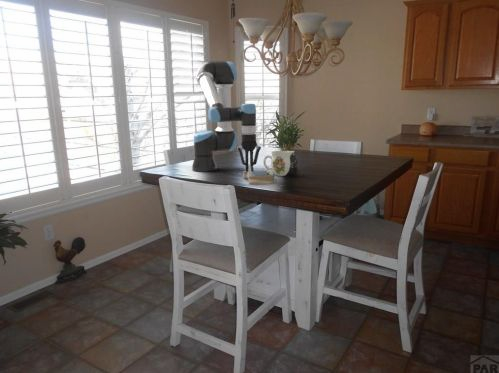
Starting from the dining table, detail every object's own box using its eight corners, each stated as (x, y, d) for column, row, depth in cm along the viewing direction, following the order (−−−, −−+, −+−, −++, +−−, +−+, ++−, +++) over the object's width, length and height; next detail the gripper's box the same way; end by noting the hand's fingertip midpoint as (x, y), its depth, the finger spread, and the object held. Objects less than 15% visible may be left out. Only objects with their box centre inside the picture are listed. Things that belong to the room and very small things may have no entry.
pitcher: (265, 172, 237) (265, 149, 234) (295, 173, 233) (295, 150, 229) (261, 176, 226) (261, 152, 223) (293, 177, 222) (293, 152, 219)
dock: (243, 178, 221) (243, 171, 220) (266, 177, 224) (266, 170, 223) (249, 184, 206) (249, 176, 205) (274, 182, 209) (274, 175, 208)
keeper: (251, 179, 217) (251, 168, 216) (263, 178, 219) (263, 168, 218) (254, 182, 211) (254, 171, 209) (267, 181, 212) (267, 170, 211)
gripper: (238, 134, 203) (238, 179, 208) (262, 133, 206) (262, 178, 211) (235, 133, 210) (236, 176, 216) (259, 132, 213) (259, 175, 218)
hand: (249, 177), depth 213 cm, fingers closed
